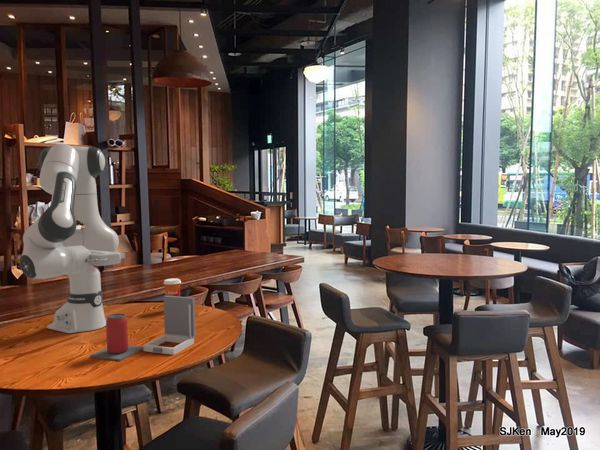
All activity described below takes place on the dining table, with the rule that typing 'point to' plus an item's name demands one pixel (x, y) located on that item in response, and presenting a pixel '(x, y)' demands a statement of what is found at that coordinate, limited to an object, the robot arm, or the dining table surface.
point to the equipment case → (176, 325)
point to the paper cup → (172, 287)
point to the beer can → (117, 334)
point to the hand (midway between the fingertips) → (114, 254)
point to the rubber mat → (105, 355)
